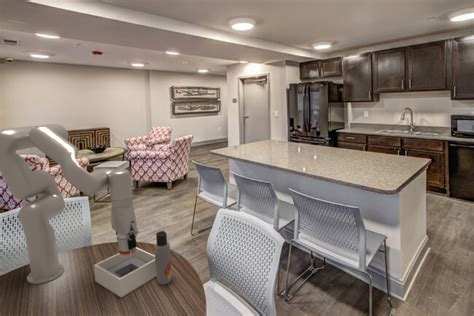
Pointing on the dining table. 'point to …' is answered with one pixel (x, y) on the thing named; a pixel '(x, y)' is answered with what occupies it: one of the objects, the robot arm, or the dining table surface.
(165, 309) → the dining table surface
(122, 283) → the box
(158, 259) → the lotion bottle
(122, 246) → the pill bottle
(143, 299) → the dining table surface
